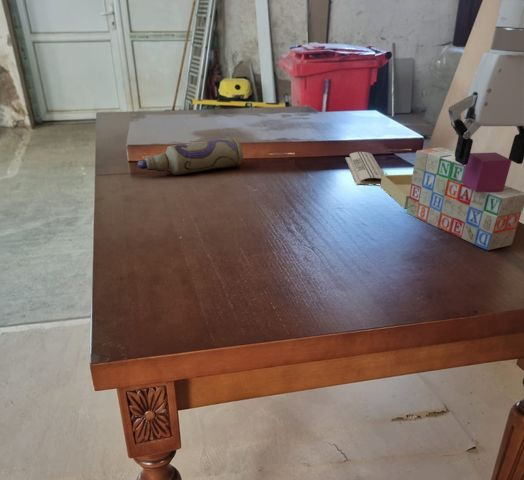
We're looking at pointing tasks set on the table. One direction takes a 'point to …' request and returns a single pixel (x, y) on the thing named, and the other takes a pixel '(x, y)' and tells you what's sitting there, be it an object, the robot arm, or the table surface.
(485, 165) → the mulberry block
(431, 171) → the stack of blocks
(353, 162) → the newspaper
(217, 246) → the table surface
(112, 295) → the table surface
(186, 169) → the decorative bottle
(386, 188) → the tray
